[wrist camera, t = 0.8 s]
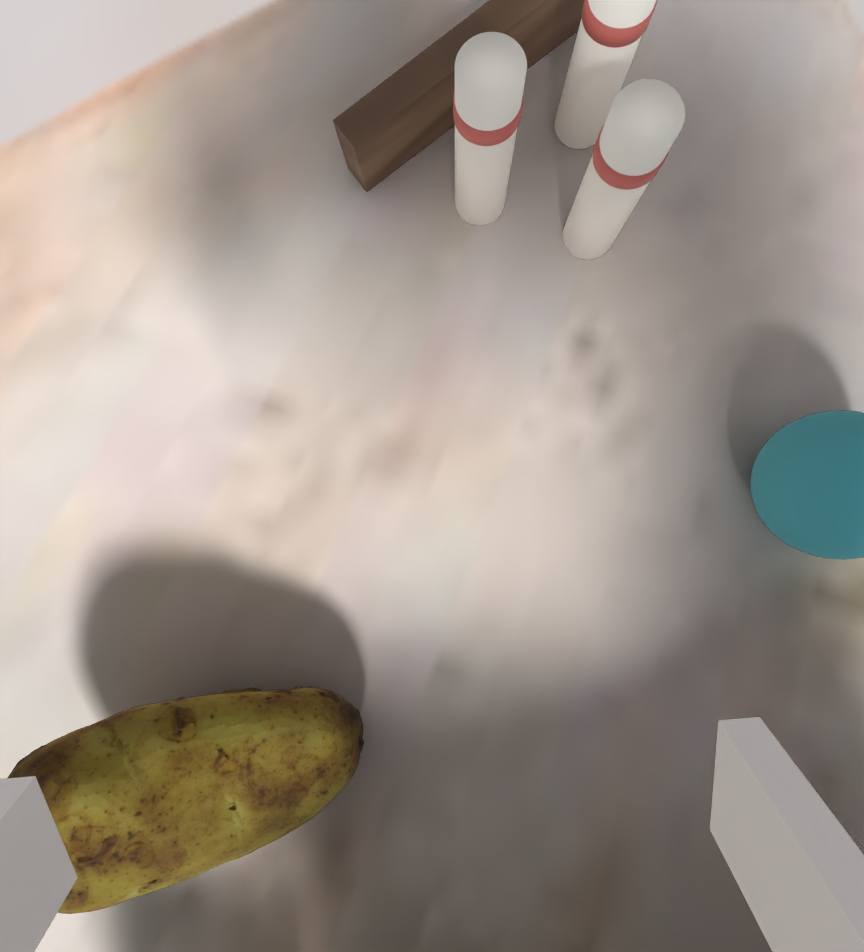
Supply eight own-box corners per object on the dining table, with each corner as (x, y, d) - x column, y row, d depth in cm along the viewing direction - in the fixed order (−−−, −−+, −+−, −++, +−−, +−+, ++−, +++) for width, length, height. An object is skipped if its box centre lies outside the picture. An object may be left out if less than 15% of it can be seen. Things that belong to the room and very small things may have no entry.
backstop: (597, 15, 28) (617, -55, 24) (366, 191, 28) (354, 147, 24) (578, -8, 28) (596, -82, 24) (348, 168, 28) (332, 120, 24)
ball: (887, 499, 26) (1015, 498, 20) (781, 579, 26) (878, 601, 20) (801, 395, 26) (903, 364, 20) (698, 474, 26) (768, 466, 21)
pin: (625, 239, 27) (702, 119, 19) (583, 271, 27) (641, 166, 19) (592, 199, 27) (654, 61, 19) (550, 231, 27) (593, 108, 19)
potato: (354, 859, 26) (310, 1013, 18) (84, 817, 27) (-72, 949, 19) (377, 676, 27) (344, 751, 19) (110, 639, 27) (-33, 695, 19)
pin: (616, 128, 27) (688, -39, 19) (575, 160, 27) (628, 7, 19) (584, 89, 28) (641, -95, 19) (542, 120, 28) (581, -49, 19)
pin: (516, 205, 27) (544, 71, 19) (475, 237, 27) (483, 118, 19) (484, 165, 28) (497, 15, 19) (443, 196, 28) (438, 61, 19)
